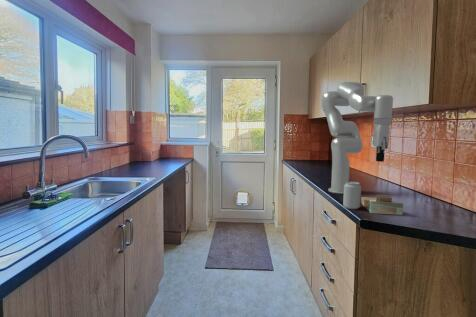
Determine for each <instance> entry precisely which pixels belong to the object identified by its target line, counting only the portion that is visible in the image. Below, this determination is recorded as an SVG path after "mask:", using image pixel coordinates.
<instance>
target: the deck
mask: <svg viewBox="0 0 476 317" xmlns="http://www.w3.org/2000/svg"><path fill="white" fill-rule="evenodd" d="M376 198H377V197H365V196H361V201H360V204H361V205H362V206H363V207H364V208H365V209H366V210H367V211H368V212H369V214H377V215H380V214H381V215H394V216H395V215H398V216H402V215H403V213H404V212H403V211H404V203H403V202H394V200H392V202H376Z"/></svg>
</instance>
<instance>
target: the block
mask: <svg viewBox="0 0 476 317" xmlns="http://www.w3.org/2000/svg"><path fill="white" fill-rule="evenodd" d="M375 198H376V202H392V201H393V197H391V196H390V195H389V194H376V197H375Z"/></svg>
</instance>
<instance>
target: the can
mask: <svg viewBox="0 0 476 317" xmlns="http://www.w3.org/2000/svg"><path fill="white" fill-rule="evenodd" d="M361 194H362V186H361V182H357V181H349V182H346V184H345V185H344V194H343V196H342V198H343V200H342V201H343V202H342V203H343V204H342V206H343V207H344V208H345V209H349V210H358V209H359V208H360V207H361V199H362V195H361Z"/></svg>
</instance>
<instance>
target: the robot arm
mask: <svg viewBox="0 0 476 317" xmlns="http://www.w3.org/2000/svg"><path fill="white" fill-rule="evenodd" d="M393 103H394V97H393V96H392V95H390V94H384V95H383V94H382V95H377V96H375V95H365V86H364V85H363V84H362V83H361V82H355V81H353V82H352V81H343V82H341V83H339V84H338V86H337V89H336V91H327V92H324V94H323V95H322V98H321V107H322V111H323V113H324V115H325V117H326V120H327V124H328V129H329V133H330V135H331V136H332V137H334V138H333V139H332V140H331V143H330V148H331V157H332V159H331V160H332V162H331V163H332V164H331V185H330V187H328V192H330V193H333V194H342V195H344V185H345V184H346V182H350V181H349V180H350V159H349V157H348V156H347V155H349V154H350V155H351V154H352V155H353V154H355V155H356V154H359V153H361V152H362V150H363V142H362V138H361V134H360V130H359V128H358V125H357V123H356V122H354V121H352V120H344V119H343V117H342V113H341V111H340V110H339V109H338V108H337V107H349V106H350V107H351V108H352V109H353V110H355V111H357V112H364V113H366V112H367V113H374V114H373V126H374V128H373V135H372V142H371V143H372V146H374V147H376V152H375V161H376V162H378V163H379V162H382V163H384V161H385V151H386V148H388V147H389V145H390V144H389V143H390V126H392V119H393V107H394V106H393Z"/></svg>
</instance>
